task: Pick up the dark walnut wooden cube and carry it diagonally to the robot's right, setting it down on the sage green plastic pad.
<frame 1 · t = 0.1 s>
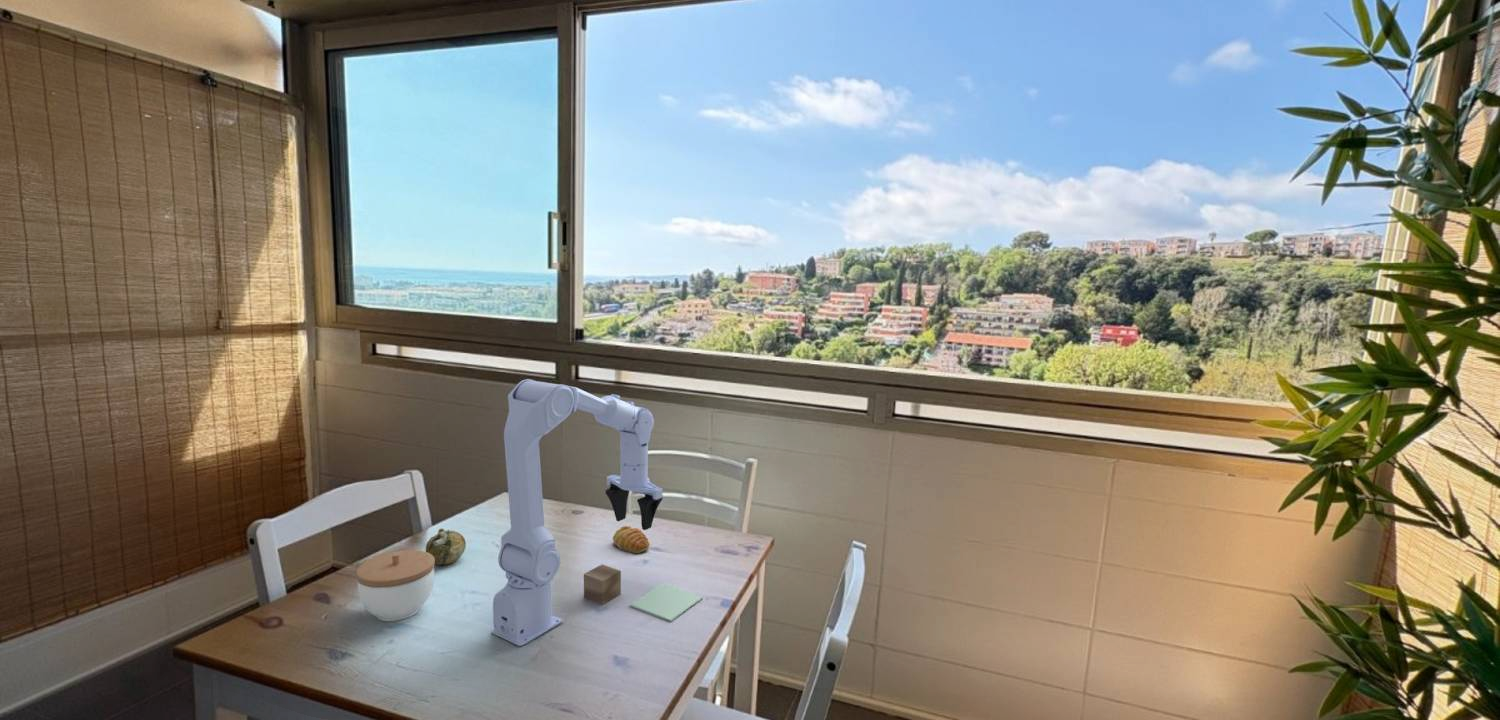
hand: (633, 524, 136), 10 cm above the table, tool pointing down, fingers open, 7 cm apart
green pumpkin: (446, 562, 138), on the table
walnut cube: (602, 596, 126), on the table
green pad: (666, 602, 124), on the table
pastry: (632, 546, 149), on the table
lidded bowl: (398, 612, 118), on the table
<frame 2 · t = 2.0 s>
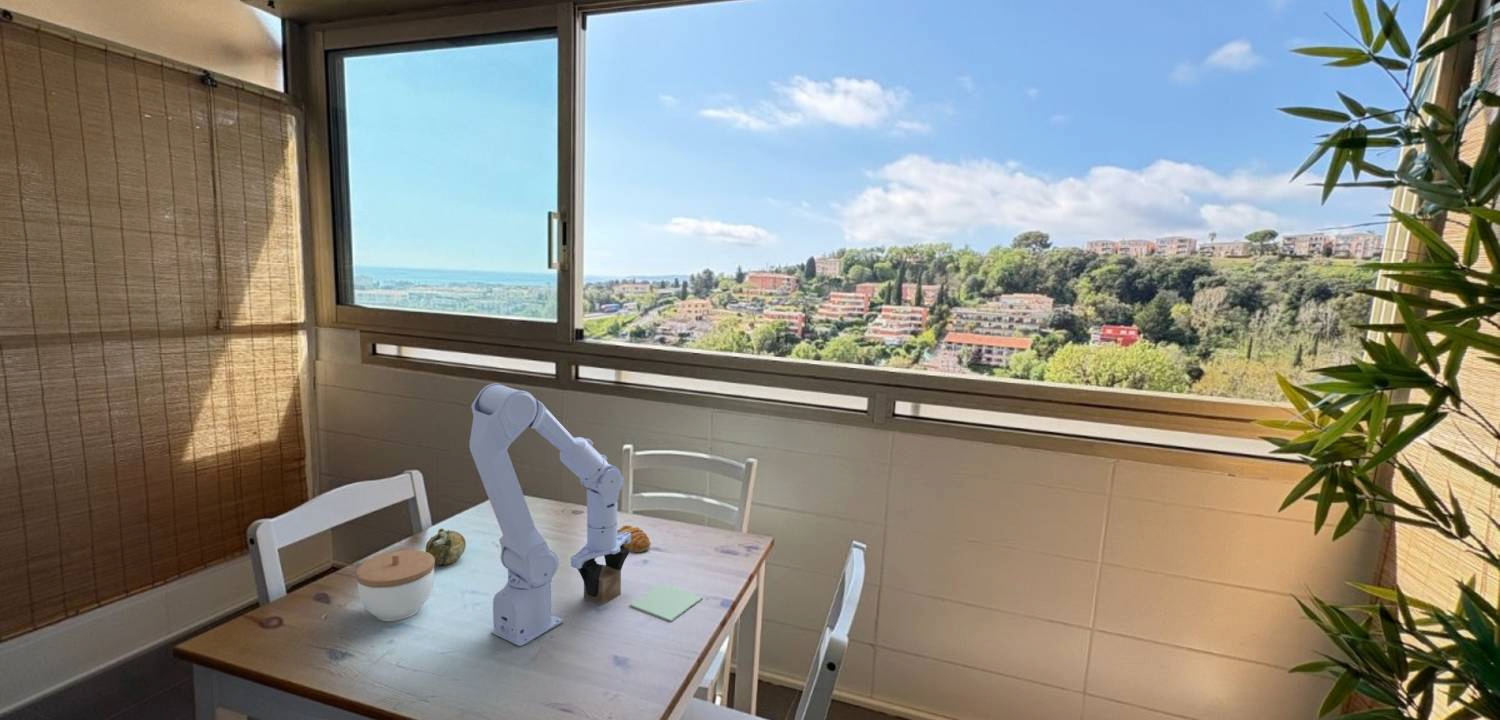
hand: (602, 589, 126), 1 cm above the table, tool pointing down, fingers closed on walnut cube, 5 cm apart
walnut cube: (602, 596, 126), on the table, touching gripper
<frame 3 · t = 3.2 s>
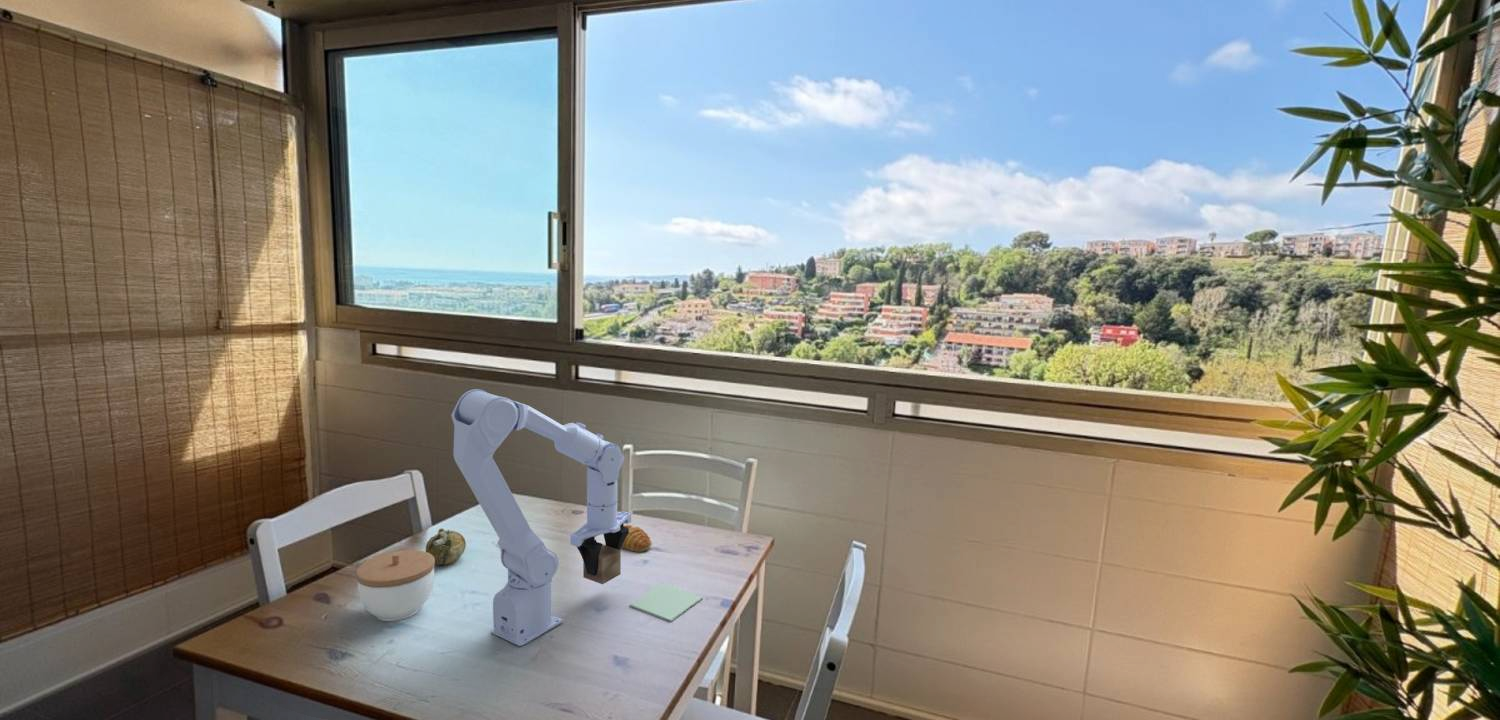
hand: (602, 568, 125), 6 cm above the table, tool pointing down, fingers closed on walnut cube, 5 cm apart
walnut cube: (602, 575, 125), point 4 cm above the table, touching gripper
everything else where it was.
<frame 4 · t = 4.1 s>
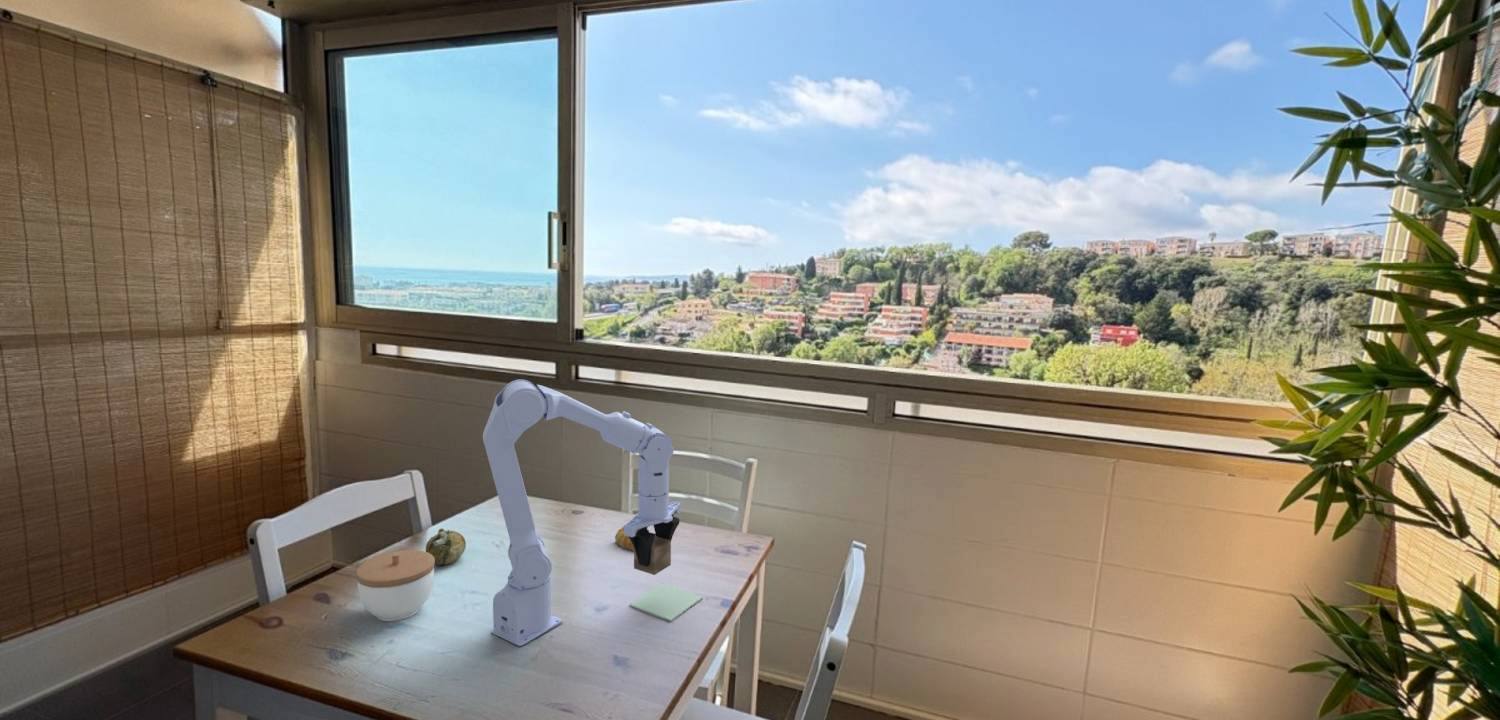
hand: (653, 559, 123), 9 cm above the table, tool pointing down, fingers closed on walnut cube, 5 cm apart
walnut cube: (652, 566, 124), point 7 cm above the table, touching gripper
everything else where it was.
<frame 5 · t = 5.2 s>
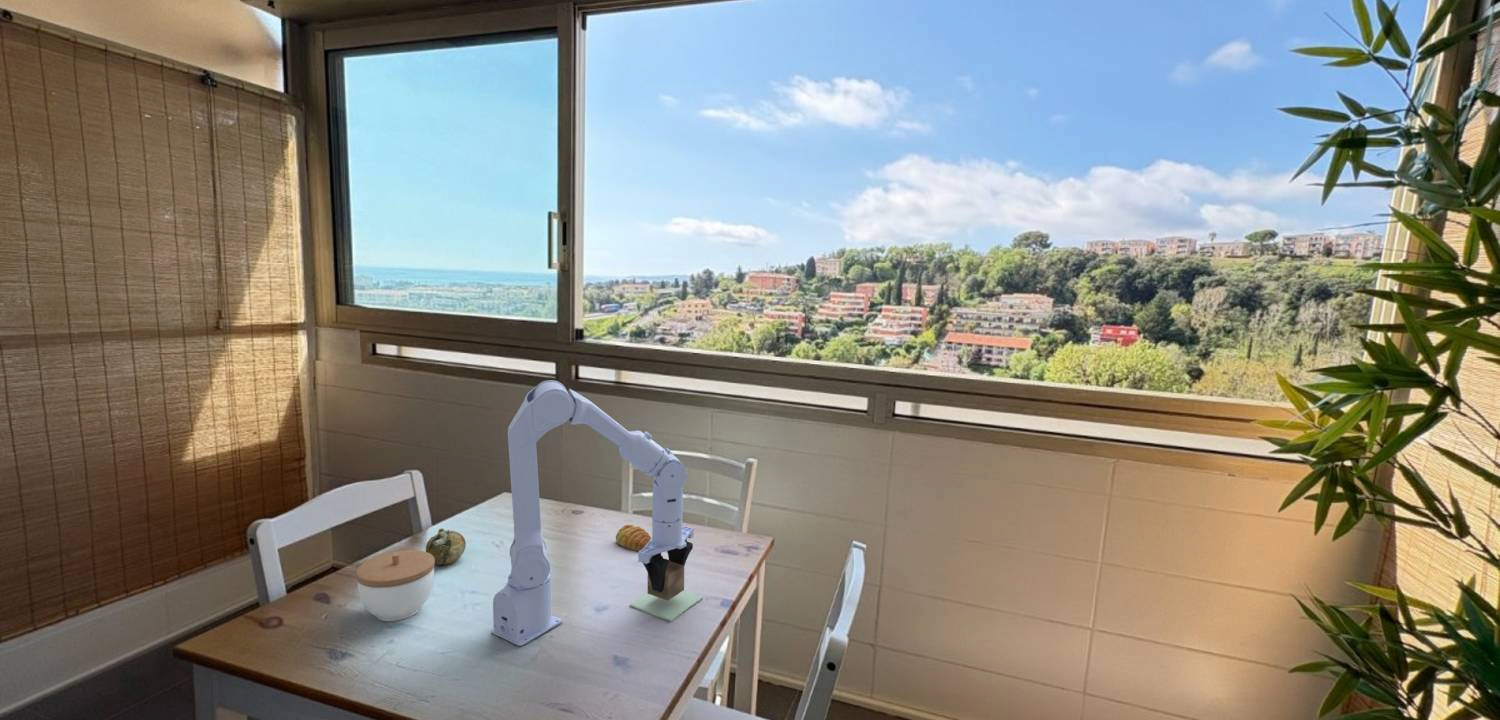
hand: (666, 584, 123), 4 cm above the table, tool pointing down, fingers closed on walnut cube, 5 cm apart
walnut cube: (665, 591, 124), point 2 cm above the table, touching gripper
when the fingers open (3 cm above the table, at t = 6.2 s): walnut cube drops 1 cm, resting on green pad.
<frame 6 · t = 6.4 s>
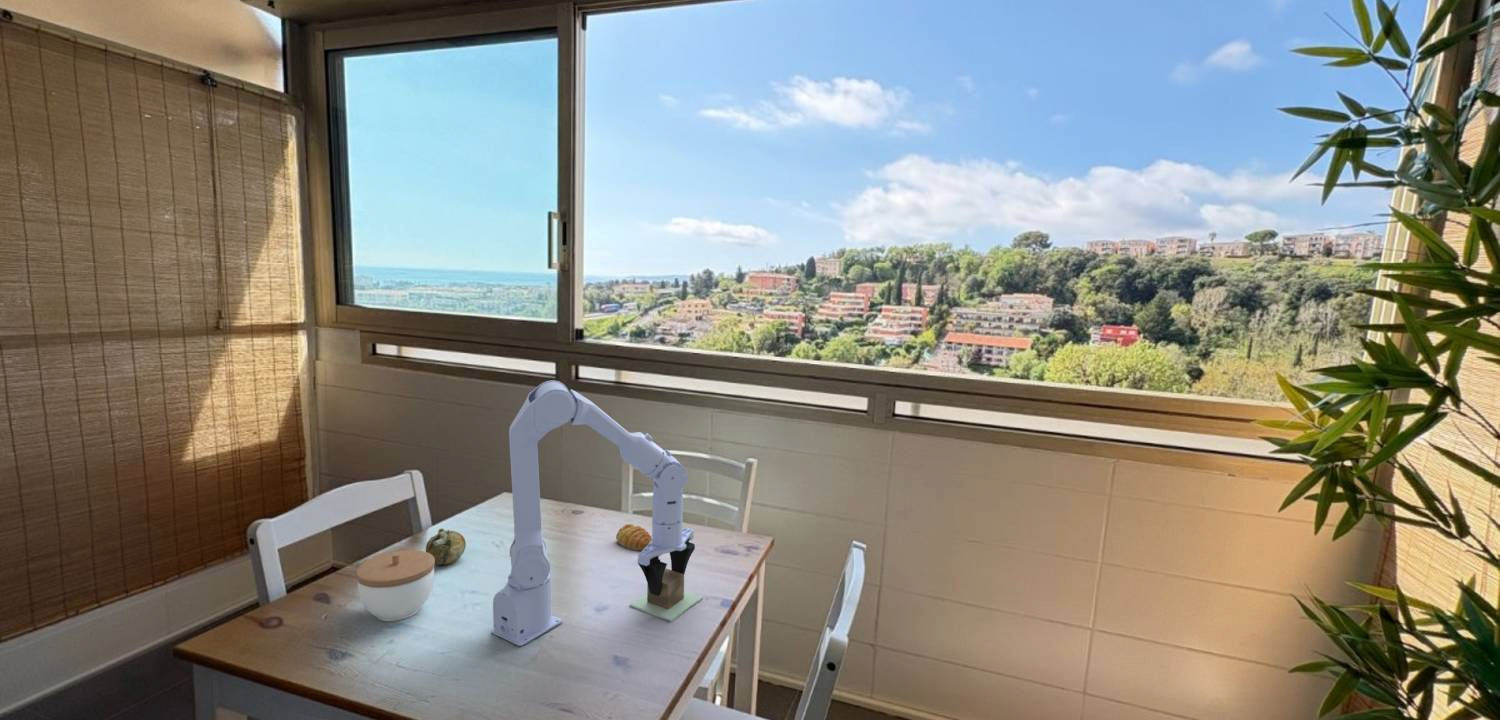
hand: (666, 586, 123), 3 cm above the table, tool pointing down, fingers open, 6 cm apart
walnut cube: (665, 600, 124), resting on green pad
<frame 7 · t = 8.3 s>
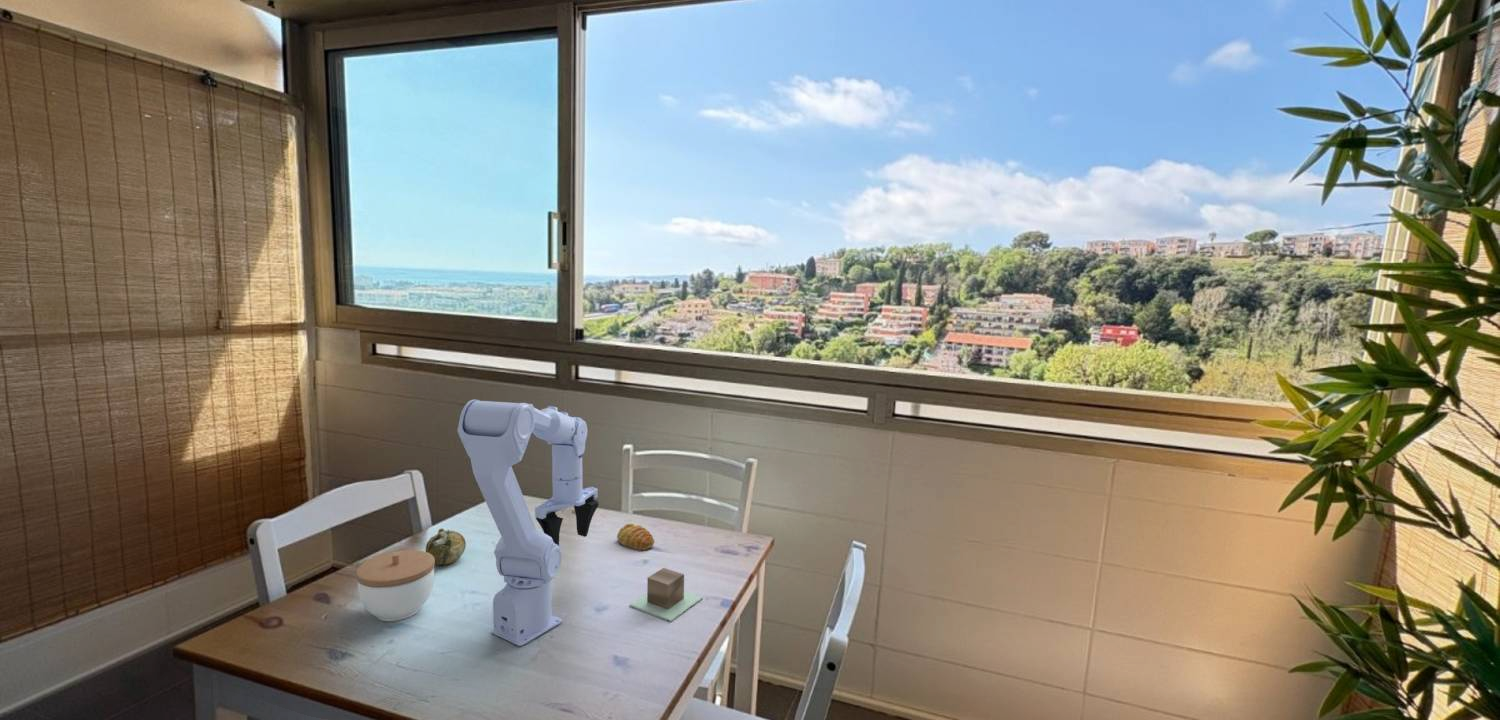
hand: (568, 541, 128), 9 cm above the table, tool pointing down, fingers open, 7 cm apart
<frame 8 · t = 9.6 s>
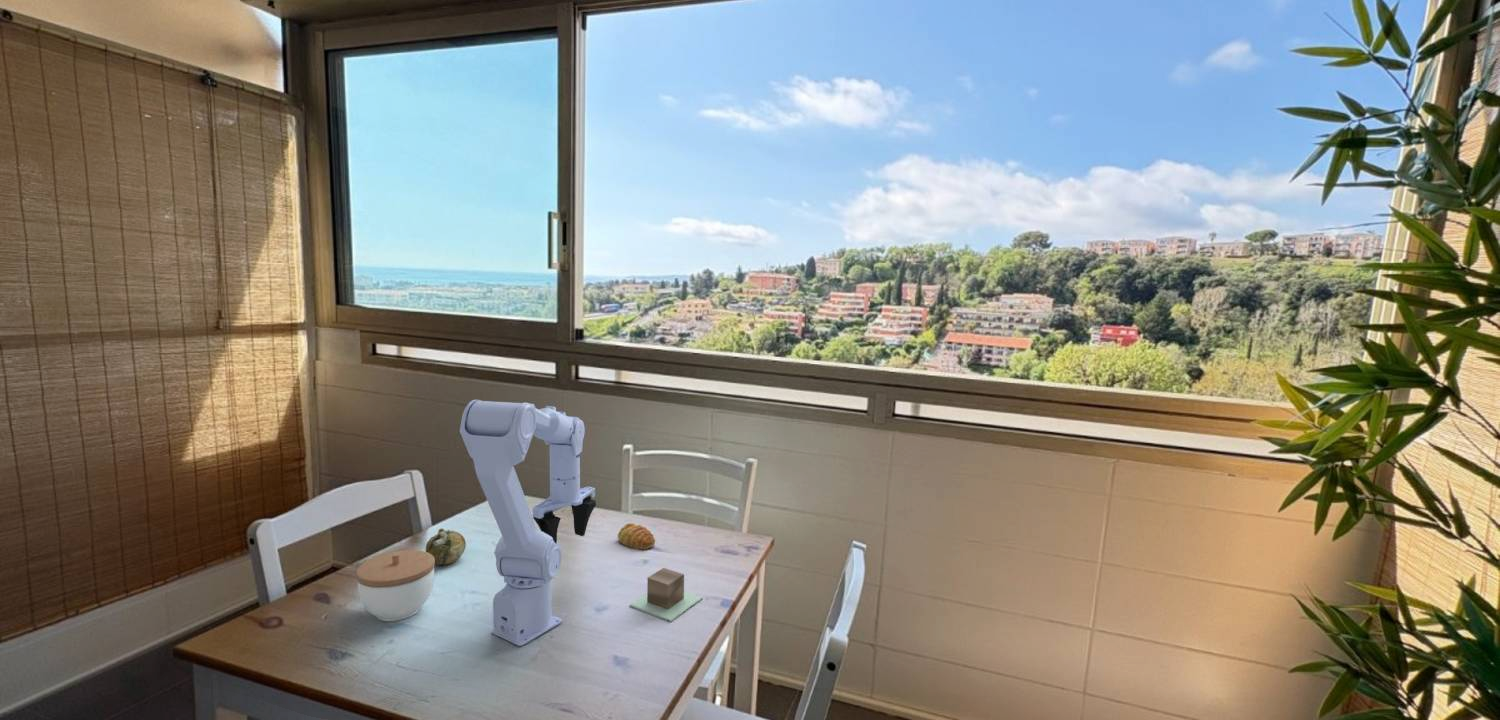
hand: (565, 541, 128), 9 cm above the table, tool pointing down, fingers open, 7 cm apart
at the end: walnut cube inside the target area on the green pad (0.2 cm from its centre), point 0.4 cm above the green pad's base; walnut cube tilted 0°; the gripper is holding nothing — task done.
